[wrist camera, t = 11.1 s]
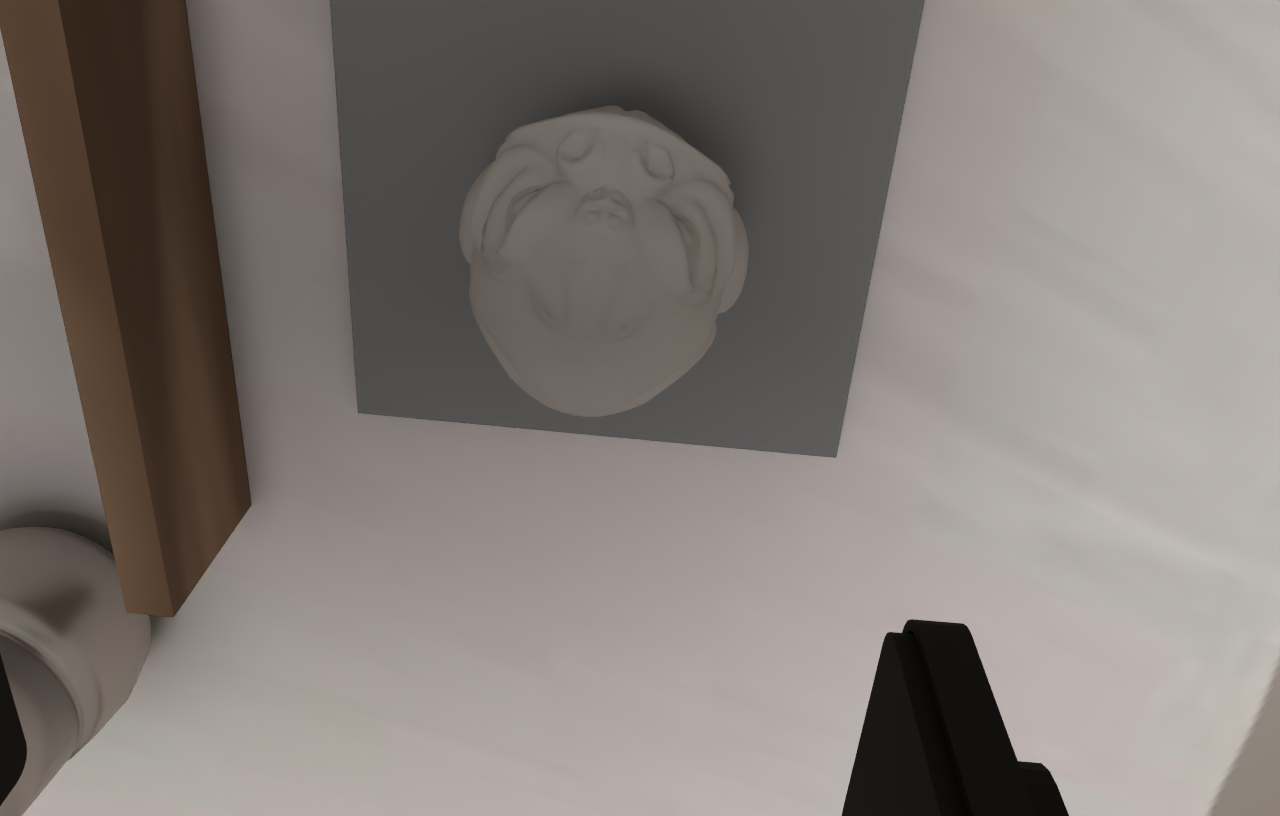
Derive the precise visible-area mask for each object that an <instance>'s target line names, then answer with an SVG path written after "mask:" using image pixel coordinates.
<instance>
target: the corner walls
mask: <svg viewBox="0 0 1280 816" xmlns="http://www.w3.org/2000/svg"><path fill="white" fill-rule="evenodd" d="M0 28H1V33H2V38H3V42H4V47H5V52H6V56H7V61H8V66H9V70H10V75H11V79H12V84H13V89H14V93H15V98H16V103H17V107H18V112H19V117H20V121H21V126H22V131H23V135H24V140H25V144H26V149H27V154H28V158H29V163H30V168H31V172H32V177H33V182H34V186H35V191H36V196H37V200H38V205H39V210H40V214H41V219H42V223H43V228H44V233H45V237H46V242H47V247H48V251H49V256H50V261H51V265H52V270H53V275H54V279H55V284H56V288H57V293H58V298H59V302H60V307H61V312H62V316H63V321H64V326H65V330H66V335H67V340H68V344H69V349H70V353H71V358H72V363H73V367H74V372H75V377H76V381H77V386H78V391H79V395H80V400H81V405H82V409H83V414H84V419H85V423H86V428H87V432H88V437H89V442H90V446H91V451H92V456H93V460H94V465H95V470H96V474H97V479H98V484H99V488H100V493H101V497H102V502H103V507H104V511H105V516H106V521H107V525H108V530H109V535H110V539H111V544H112V549H113V553H114V558H115V563H116V567H117V572H118V576H119V581H120V586H121V590H122V595H123V600H124V604H125V609H126V613H134V614H144V615H154V616H165V617H174V616H175V615H176V613H177V612H178V610H179V609H180V607H181V606H182V604H183V603H184V602H185V600H186V599H187V597H188V596H189V594H190V593H191V591H192V590H193V589H194V587H195V586H196V584H197V583H198V581H199V580H200V578H201V577H202V576H203V574H204V573H205V571H206V570H207V568H208V567H209V565H210V564H211V563H212V561H213V560H214V558H215V557H216V555H217V554H218V552H219V551H220V550H221V548H222V547H223V545H224V544H225V542H226V541H227V539H228V538H229V537H230V535H231V534H232V532H233V531H234V529H235V528H236V526H237V525H238V523H239V522H240V521H241V519H242V518H243V516H244V515H245V513H246V512H247V510H248V509H249V508H250V506H251V500H250V493H249V485H248V478H247V470H246V462H245V455H244V447H243V440H242V432H241V424H240V417H239V409H238V402H237V394H236V386H235V379H234V371H233V364H232V356H231V349H230V341H229V333H228V326H227V318H226V311H225V303H224V295H223V288H222V280H221V273H220V265H219V257H218V250H217V242H216V235H215V227H214V220H213V212H212V204H211V197H210V189H209V182H208V174H207V166H206V159H205V151H204V144H203V136H202V128H201V121H200V113H199V106H198V98H197V90H196V83H195V75H194V68H193V60H192V53H191V45H190V37H189V30H188V22H187V15H186V7H185V0H0Z"/></svg>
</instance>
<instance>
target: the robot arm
mask: <svg viewBox="0 0 1280 816" xmlns="http://www.w3.org/2000/svg"><path fill="white" fill-rule="evenodd" d="M26 759H27V744H26V740H25V736H24V733H23V729H22V726H21V723H20V719H19V716H18V712H17V709H16V705H15V702H14V699H13V695H12V692H11V688H10V685H9V681H8V678H7V675H6V671H5V668H4V664H3V661H2V657H1V654H0V806H1V805H2V803H3V802H4V800H5V799H6V798H7V796H8V795H9V793H10V792H11V791H12V789H13V788H14V786H15V785H16V784H17V782H18V780H19V778H20V777H21V775H22V772H23V770H24V767H25V763H26ZM842 816H1069V815H1068V812H1067V810H1066V807H1065V805H1064V802H1063V800H1062V797H1061V795H1060V792H1059V789H1058V787H1057V785H1056V783H1055V781H1054V779H1053V777H1052V775H1051V773H1050V771H1049V770H1048V769H1047V768H1046V767H1045V766H1043V765H1042V764H1041V763H1032V762H1020V761H1017V758H1016V756H1015V753H1014V750H1013V747H1012V745H1011V742H1010V739H1009V737H1008V734H1007V731H1006V728H1005V726H1004V723H1003V720H1002V717H1001V715H1000V712H999V709H998V706H997V704H996V701H995V698H994V695H993V693H992V690H991V687H990V684H989V682H988V679H987V676H986V673H985V671H984V668H983V665H982V662H981V660H980V657H979V654H978V651H977V649H976V646H975V643H974V640H973V638H972V635H971V633H970V631H969V629H968V627H967V626H966V625H964V624H960V623H948V622H936V621H924V620H908V621H907V623H906V624H905V626H904V629H903V632H902V633H894V632H889V633H887V635H886V636H885V639H884V642H883V646H882V650H881V654H880V658H879V662H878V666H877V671H876V675H875V679H874V683H873V687H872V691H871V695H870V700H869V704H868V708H867V712H866V716H865V720H864V724H863V729H862V733H861V737H860V741H859V745H858V749H857V753H856V758H855V762H854V766H853V770H852V774H851V778H850V782H849V787H848V791H847V795H846V799H845V803H844V807H843V812H842Z"/></svg>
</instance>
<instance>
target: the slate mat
mask: <svg viewBox="0 0 1280 816" xmlns="http://www.w3.org/2000/svg"><path fill="white" fill-rule="evenodd" d="M923 6H924V0H330V8H331V23H332V37H333V52H334V67H335V81H336V96H337V111H338V126H339V140H340V155H341V170H342V185H343V199H344V214H345V229H346V244H347V258H348V273H349V288H350V302H351V317H352V332H353V347H354V361H355V376H356V391H357V406H358V413H363V414H374V415H385V416H395V417H406V418H417V419H427V420H438V421H449V422H460V423H470V424H481V425H492V426H502V427H513V428H524V429H534V430H545V431H556V432H566V433H577V434H588V435H598V436H609V437H620V438H630V439H641V440H652V441H663V442H673V443H684V444H695V445H705V446H716V447H727V448H737V449H748V450H759V451H769V452H780V453H791V454H801V455H812V456H823V457H833V458H836V456H837V450H838V445H839V440H840V435H841V430H842V425H843V419H844V414H845V409H846V404H847V399H848V394H849V388H850V383H851V378H852V373H853V368H854V363H855V357H856V352H857V347H858V342H859V337H860V331H861V326H862V321H863V316H864V311H865V306H866V300H867V295H868V290H869V285H870V280H871V275H872V269H873V264H874V259H875V254H876V249H877V244H878V238H879V233H880V228H881V223H882V218H883V212H884V207H885V202H886V197H887V192H888V187H889V181H890V176H891V171H892V166H893V161H894V156H895V150H896V145H897V140H898V135H899V130H900V125H901V119H902V114H903V109H904V104H905V99H906V94H907V88H908V83H909V78H910V73H911V68H912V62H913V57H914V52H915V47H916V42H917V37H918V31H919V26H920V21H921V16H922V11H923ZM603 106H619V107H620V108H622V109H623V110H624V111H632V110H639V111H642V112H644V113H647V114H648V115H650V116H651V117H653V118H655V119H656V120H658V121H659V122H661V123H662V124H663V125H664V126H666V127H667V128H669V129H670V130H672V131H673V132H675V133H676V134H678V135H679V136H681V137H682V138H683V139H684V140H685V141H686V142H687V143H688V144H690V145H691V146H693V147H694V148H696V149H697V150H698V151H700V152H701V153H702V154H704V155H705V156H707V157H708V158H709V159H711V160H712V161H713V162H715V163H716V164H718V165H719V166H720V167H721V168H722V169H723V171H724V172H725V173H726V174H727V176H728V178H729V180H730V182H731V183H730V186H729V187H730V189H731V190H732V192H733V193H734V201H733V207H734V208H735V209H736V210H737V211H738V213H739V215H740V217H741V219H742V221H743V224H744V227H745V230H746V234H747V240H748V246H749V253H748V266H747V274H746V277H745V281H744V285H743V288H742V291H741V293H740V295H739V297H738V299H737V300H736V302H735V303H734V305H733V306H731V307H730V308H729V309H728V310H727V311H726V312H723V313H720V314H718V316H717V319H716V320H715V321H716V326H717V330H716V335H715V338H714V340H713V343H712V344H711V346H710V347H709V348H708V350H707V351H706V353H705V354H704V355H703V357H702V358H701V359H700V360H699V361H698V362H697V363H696V364H695V365H694V366H693V367H691V368H690V370H689V371H688V372H686V373H685V374H684V375H683V376H681V377H680V378H679V379H678V380H677V381H675V382H674V383H673V384H671V385H670V386H668V387H667V388H666V389H664V390H663V391H662V392H660V393H659V394H658V395H656V396H655V397H653V398H652V399H650V400H649V401H648V402H646V403H644V404H642V405H640V406H637V407H635V408H632V409H630V410H627V411H623V412H620V413H616V414H612V415H607V416H599V417H583V416H580V415H578V416H573V415H571V414H569V413H562V412H560V411H558V410H554V409H552V408H550V407H547V406H545V405H543V404H542V403H540V402H539V401H538V400H536V399H535V398H533V397H532V396H530V395H529V394H528V393H526V392H525V391H524V390H523V389H522V388H521V387H520V386H518V385H517V384H516V383H515V382H514V381H513V380H512V379H511V378H510V377H509V376H508V374H507V373H506V371H505V370H504V368H503V367H502V365H501V364H500V362H499V361H498V359H497V358H496V356H495V354H494V353H493V351H492V350H491V348H490V347H489V345H488V343H487V342H486V340H485V338H484V336H483V334H482V332H481V330H480V328H479V326H478V324H477V322H476V319H475V317H474V314H473V312H472V307H471V303H470V299H469V286H470V275H471V274H470V266H471V264H470V263H468V262H467V260H466V258H465V257H464V255H463V253H462V250H461V245H460V240H459V228H460V218H461V213H462V209H463V205H464V202H465V198H466V195H467V192H468V191H469V189H470V187H471V186H472V184H473V182H474V181H475V179H476V178H477V177H478V176H479V174H480V173H481V172H482V171H483V170H484V169H485V168H486V167H487V166H488V165H489V164H491V163H492V162H494V161H495V160H496V153H497V151H498V149H499V146H501V145H502V144H503V143H504V142H505V138H506V136H507V135H508V134H509V133H510V132H511V131H513V130H514V129H516V128H517V127H520V126H523V125H527V124H531V123H534V122H538V121H542V120H545V119H550V118H555V117H559V116H563V115H565V114H568V113H573V112H578V111H583V110H589V109H591V108H597V107H603Z"/></svg>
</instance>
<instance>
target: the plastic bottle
mask: <svg viewBox="0 0 1280 816" xmlns="http://www.w3.org/2000/svg"><path fill="white" fill-rule="evenodd" d="M150 643H151V625H150V618H149V615H144V614H134V613H126V609H125V604H124V600H123V595H122V590H121V586H120V581H119V576H118V572H117V567H116V563H115V558H114V555H113V554H112V553H110V552H109V551H108V550H106V549H105V548H103V547H102V546H100V545H99V544H97V543H95V542H93V541H91V540H89V539H87V538H85V537H83V536H81V535H78V534H75V533H72V532H69V531H66V530H62V529H56V528H51V527H22V528H11V529H5V530H0V654H1V657H2V661H3V664H4V668H5V671H6V675H7V678H8V681H9V685H10V688H11V692H12V695H13V699H14V702H15V705H16V709H17V712H18V716H19V719H20V723H21V726H22V729H23V733H24V736H25V740H26V744H27V759H26V763H25V767H24V770H23V772H22V775H21V777H20V778H19V780H18V782H17V784H16V785H15V786H14V788H13V789H12V791H11V792H10V793H9V795H8V796H7V798H6V799H5V800H4V802H3V803H2V805H1V806H0V816H22V815H23V814H24V812H25V811H26V810H27V809H28V808H29V806H30V805H31V804H32V803H33V801H34V800H35V799H36V798H37V797H38V795H39V794H40V793H41V792H42V791H43V789H44V788H45V787H46V786H47V785H48V783H49V782H50V781H51V780H52V778H53V777H54V776H55V775H56V774H57V772H58V771H59V770H60V769H61V768H62V766H63V765H64V764H65V763H66V762H67V761H68V760H69V759H71V758H72V757H73V756H74V755H75V754H76V753H77V752H79V751H80V750H81V749H82V748H83V747H84V746H85V745H86V744H87V743H88V742H89V741H90V740H91V739H92V738H93V737H94V736H95V735H96V734H97V733H98V732H99V731H100V730H101V729H102V728H103V726H104V725H105V724H106V723H107V722H108V721H109V720H110V719H111V718H112V716H113V715H114V714H115V713H116V712H117V711H118V710H119V709H120V708H121V706H122V705H123V704H124V703H125V702H126V701H127V699H128V697H129V696H130V694H131V692H132V690H133V688H134V686H135V683H136V681H137V679H138V676H139V674H140V672H141V669H142V667H143V665H144V662H145V660H146V658H147V655H148V653H149V648H150Z"/></svg>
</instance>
